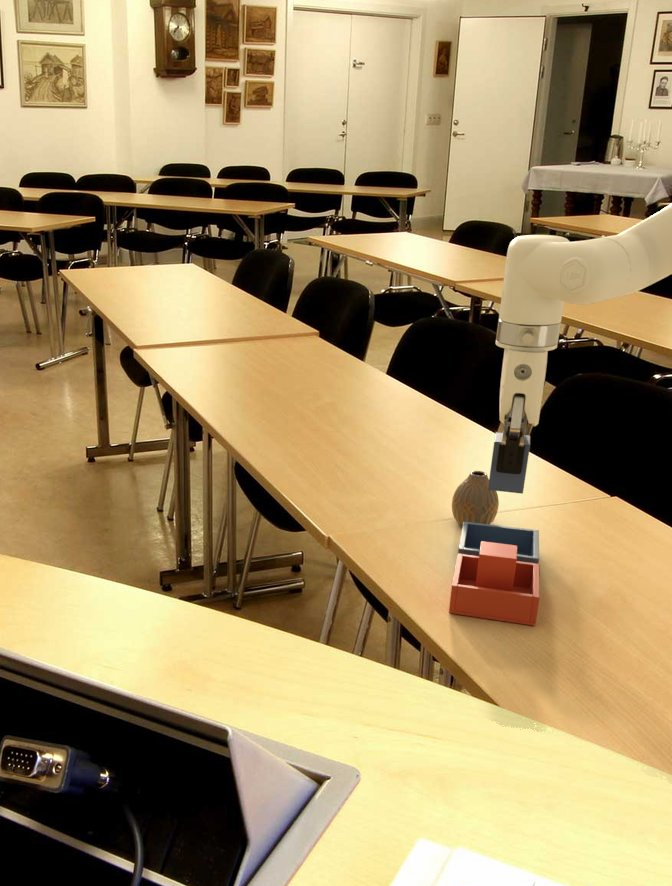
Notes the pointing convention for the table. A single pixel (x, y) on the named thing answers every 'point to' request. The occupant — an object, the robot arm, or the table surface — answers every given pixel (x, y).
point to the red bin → (495, 593)
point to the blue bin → (500, 540)
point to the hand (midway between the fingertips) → (508, 465)
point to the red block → (496, 566)
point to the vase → (475, 500)
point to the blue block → (507, 480)
